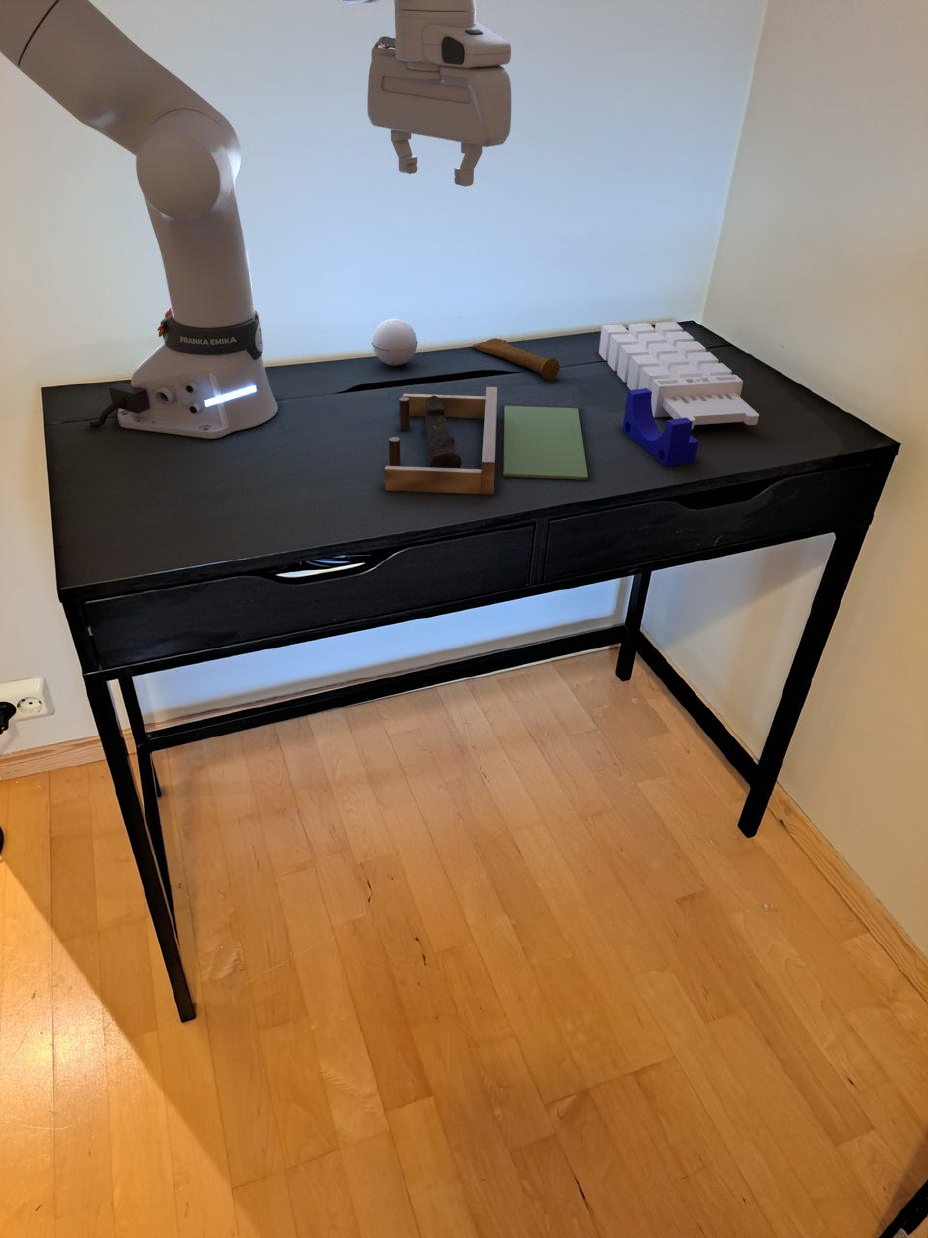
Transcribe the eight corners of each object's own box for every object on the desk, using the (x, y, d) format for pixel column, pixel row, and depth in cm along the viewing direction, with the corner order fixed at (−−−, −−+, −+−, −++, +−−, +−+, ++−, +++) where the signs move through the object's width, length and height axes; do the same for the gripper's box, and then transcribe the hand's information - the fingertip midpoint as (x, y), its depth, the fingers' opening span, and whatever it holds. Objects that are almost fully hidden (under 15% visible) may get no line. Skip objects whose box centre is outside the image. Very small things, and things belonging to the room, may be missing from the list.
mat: (503, 476, 117) (503, 473, 117) (504, 407, 135) (504, 405, 135) (587, 479, 117) (587, 476, 117) (577, 410, 135) (578, 408, 134)
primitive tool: (471, 347, 155) (472, 327, 153) (496, 341, 158) (497, 321, 156) (544, 383, 143) (546, 362, 141) (569, 376, 146) (572, 355, 144)
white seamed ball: (365, 360, 149) (363, 316, 145) (405, 353, 152) (404, 309, 148) (391, 381, 142) (389, 335, 138) (432, 373, 145) (432, 328, 141)
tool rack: (385, 490, 114) (384, 458, 111) (403, 412, 133) (403, 383, 130) (493, 494, 113) (494, 462, 111) (496, 415, 133) (497, 386, 130)
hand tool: (461, 482, 116) (462, 449, 113) (430, 482, 116) (430, 449, 113) (450, 421, 131) (451, 390, 128) (423, 421, 131) (423, 390, 128)
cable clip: (694, 461, 122) (702, 420, 118) (665, 466, 121) (672, 424, 117) (649, 425, 131) (655, 386, 127) (622, 430, 129) (627, 390, 126)
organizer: (675, 321, 154) (769, 403, 126) (670, 349, 156) (761, 435, 129) (601, 325, 151) (681, 409, 124) (598, 353, 154) (675, 441, 127)
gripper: (351, 35, 103) (357, 168, 111) (483, 49, 92) (479, 196, 100) (392, 33, 106) (395, 162, 115) (523, 46, 95) (516, 188, 103)
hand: (435, 178), depth 107 cm, fingers open, 8 cm apart
